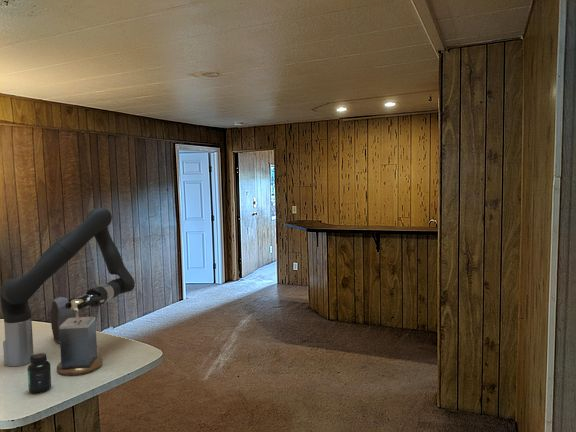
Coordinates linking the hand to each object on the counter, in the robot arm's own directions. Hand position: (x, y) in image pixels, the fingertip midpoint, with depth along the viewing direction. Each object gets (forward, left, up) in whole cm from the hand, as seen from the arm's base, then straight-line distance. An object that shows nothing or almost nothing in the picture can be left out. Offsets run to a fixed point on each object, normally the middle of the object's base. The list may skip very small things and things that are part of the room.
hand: (72, 306), depth 165 cm
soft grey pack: (-15, +34, -25) cm, 44 cm away
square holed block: (+1, +3, -24) cm, 25 cm away
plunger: (+1, +3, -21) cm, 21 cm away
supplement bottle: (-7, -14, -25) cm, 30 cm away
